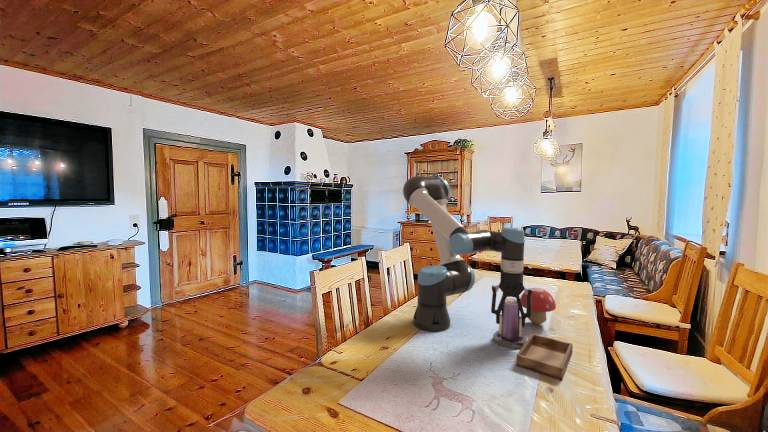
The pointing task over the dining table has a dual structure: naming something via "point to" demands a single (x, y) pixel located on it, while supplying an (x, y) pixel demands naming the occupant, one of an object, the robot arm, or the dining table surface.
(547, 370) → the crate
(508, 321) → the beverage can
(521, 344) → the collar
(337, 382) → the dining table surface
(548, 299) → the decorative mushroom
